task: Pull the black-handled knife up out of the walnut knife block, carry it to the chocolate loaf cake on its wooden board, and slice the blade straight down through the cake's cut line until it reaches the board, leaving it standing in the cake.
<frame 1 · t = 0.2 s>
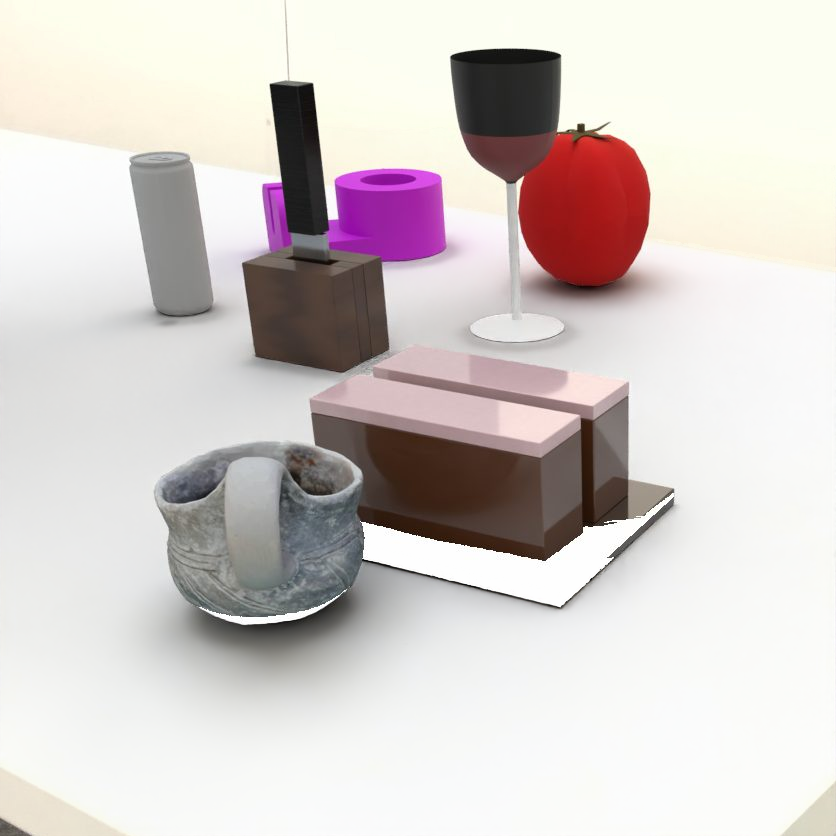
tomato: (586, 284, 118), on the table
tape dispenser: (362, 252, 127), on the table
mug: (284, 622, 66), on the table
beverage can: (185, 310, 110), on the table
cake: (479, 520, 76), on the table
wineglass: (517, 329, 106), on the table
knife: (308, 224, 96), in the knife block
knife block: (323, 352, 101), on the table
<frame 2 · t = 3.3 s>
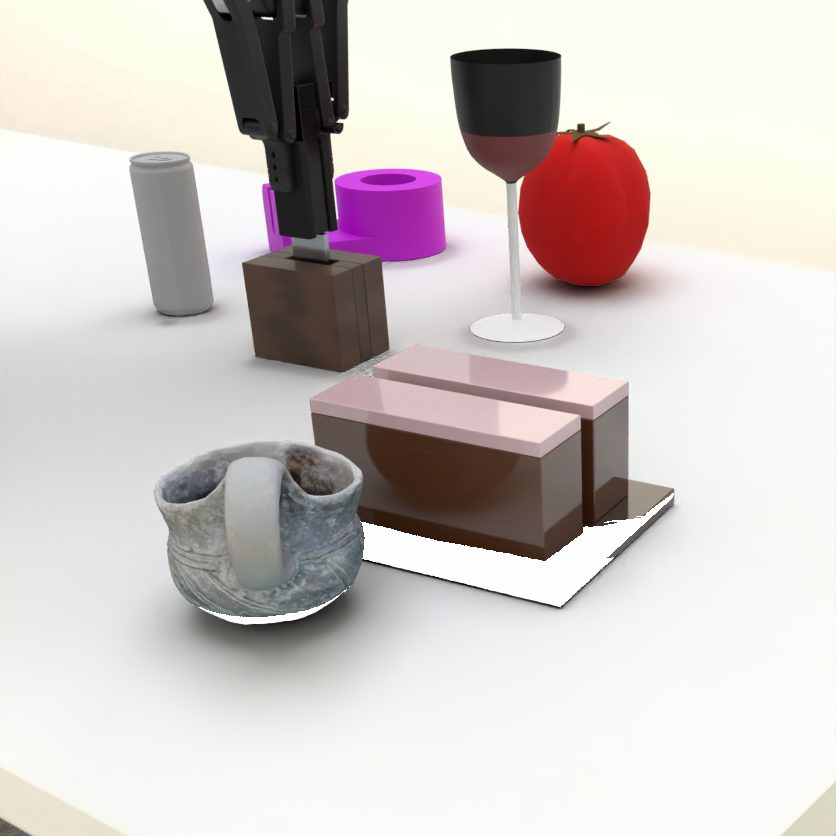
hand: (308, 231, 96), 9 cm above the table, tool pointing down, fingers closed on knife, 2 cm apart
knife: (308, 224, 96), in the knife block, touching gripper
everything else where it was.
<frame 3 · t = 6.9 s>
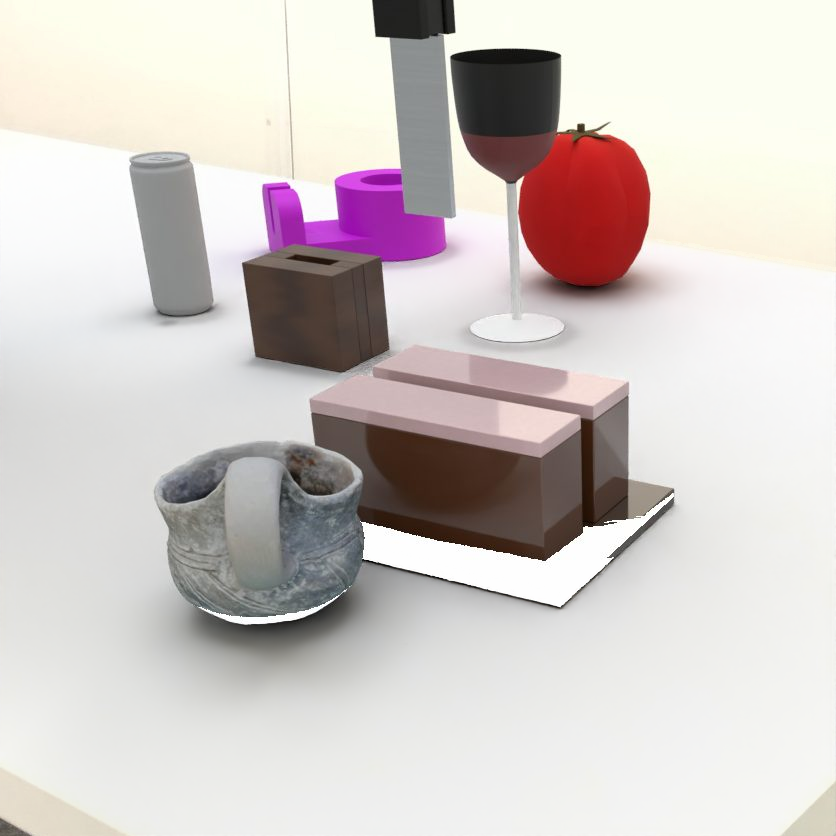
hand: (415, 33, 67), 25 cm above the table, tool pointing down, fingers closed on knife, 2 cm apart
knife: (415, 22, 67), point 25 cm above the table, touching gripper
everything else where it was.
when the fingers open (10 cm above the table, at t = 10.4 s): knife stays where it is, resting on cake.
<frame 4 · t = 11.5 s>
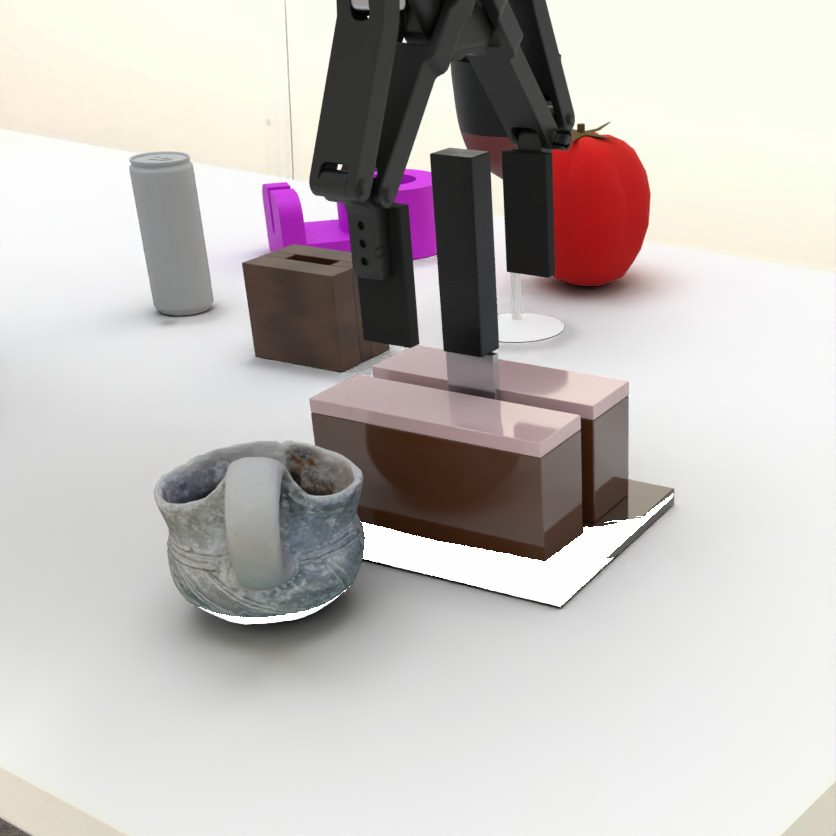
hand: (466, 305, 69), 12 cm above the table, tool pointing down, fingers open, 13 cm apart
knife: (471, 340, 70), point 10 cm above the table, touching cake
everything else where it was.
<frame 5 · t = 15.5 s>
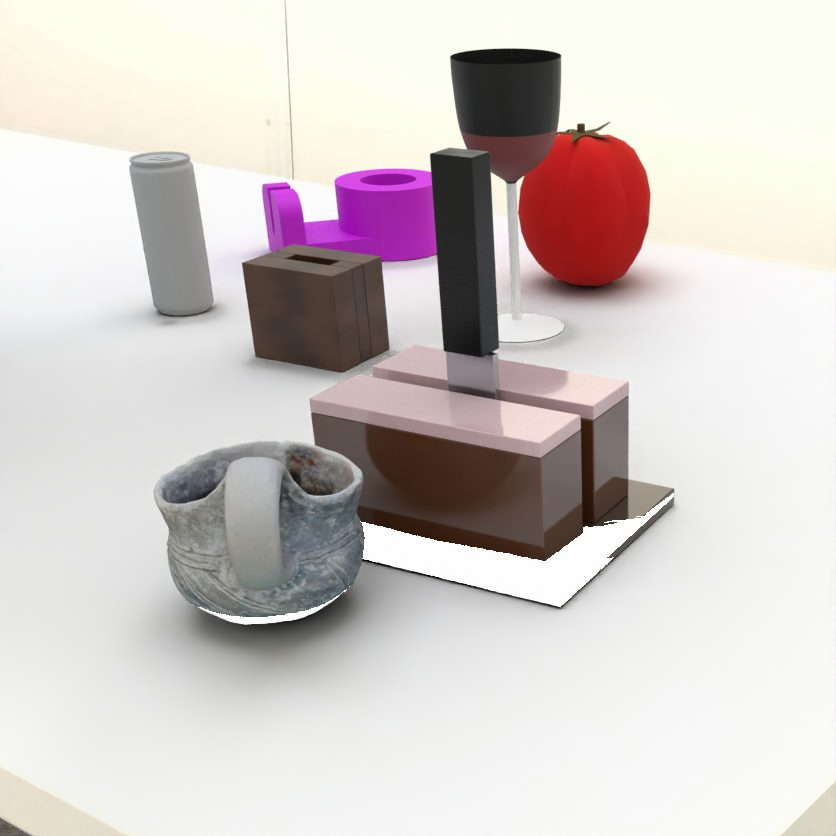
nothing on the table moved.
at the end: knife inside the target area on the cake (0.1 cm from its centre), point 10.5 cm above the cake's base; knife tilted 0°; the gripper is holding nothing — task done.
